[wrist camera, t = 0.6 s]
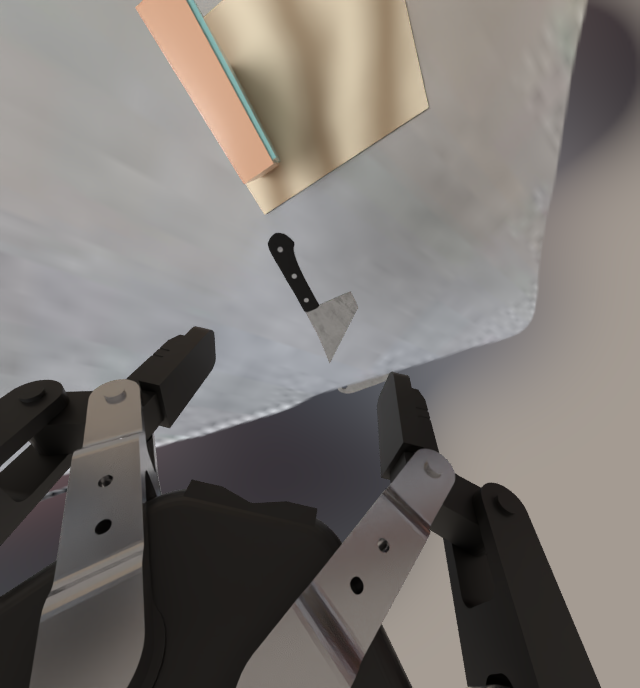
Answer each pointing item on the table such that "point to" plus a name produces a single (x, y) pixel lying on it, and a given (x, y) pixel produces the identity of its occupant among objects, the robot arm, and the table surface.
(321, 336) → the kitchen knife
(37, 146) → the table surface
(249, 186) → the board
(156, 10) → the tile
